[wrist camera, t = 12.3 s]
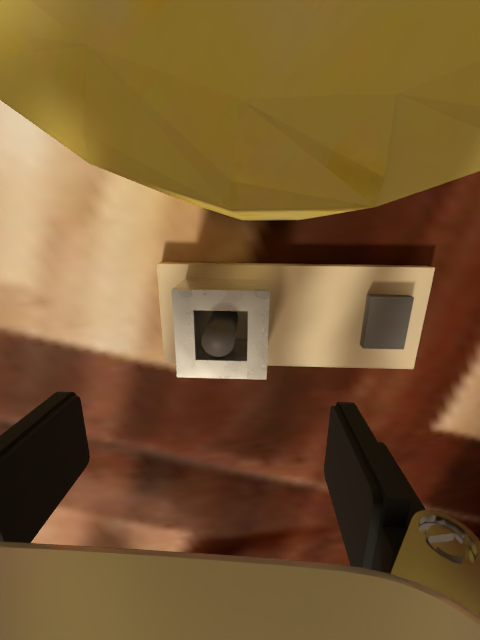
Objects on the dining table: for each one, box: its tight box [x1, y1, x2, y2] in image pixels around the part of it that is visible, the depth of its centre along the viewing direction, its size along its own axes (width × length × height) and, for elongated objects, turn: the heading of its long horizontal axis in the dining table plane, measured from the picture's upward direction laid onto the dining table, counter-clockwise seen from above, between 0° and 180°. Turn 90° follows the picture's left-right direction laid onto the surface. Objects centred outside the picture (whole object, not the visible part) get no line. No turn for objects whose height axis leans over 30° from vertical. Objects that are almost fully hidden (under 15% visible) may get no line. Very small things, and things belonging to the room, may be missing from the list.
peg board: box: [157, 262, 435, 369], centre depth 20 cm, size 20×8×6 cm, turn 90°
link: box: [171, 279, 270, 379], centre depth 20 cm, size 6×6×4 cm
